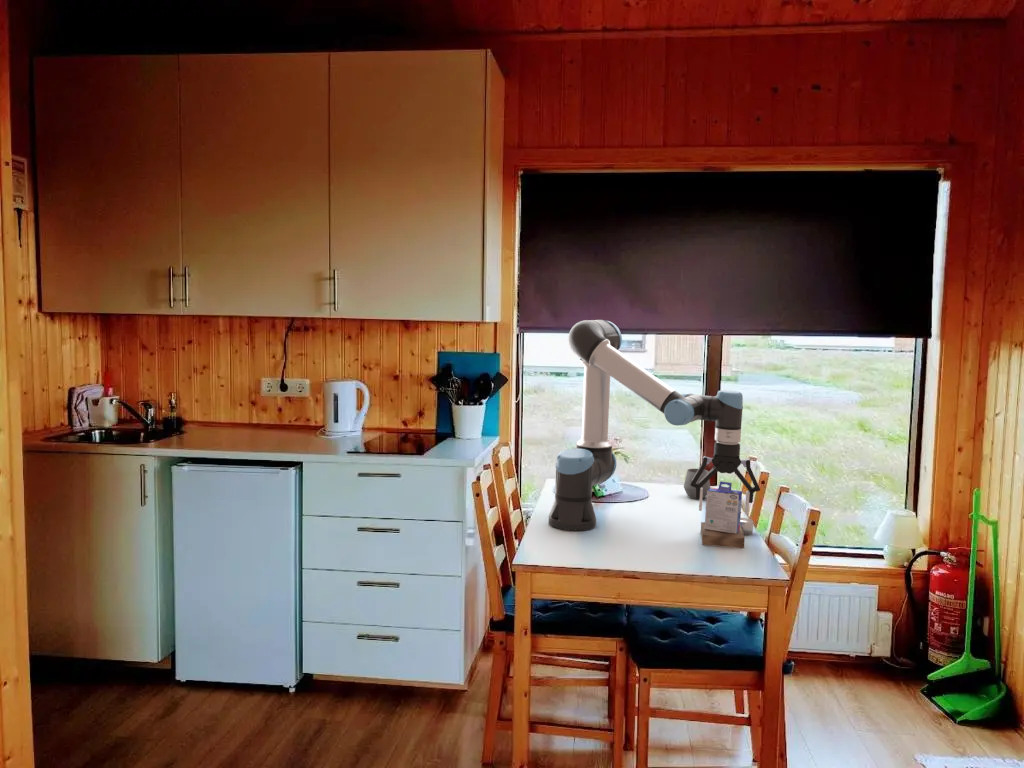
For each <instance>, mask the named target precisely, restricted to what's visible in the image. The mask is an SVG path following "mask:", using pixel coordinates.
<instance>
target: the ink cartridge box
mask: <svg viewBox="0 0 1024 768" xmlns="http://www.w3.org/2000/svg"><path fill="white" fill-rule="evenodd" d="M723 485H727V486H723ZM732 487H733V486H732V482H727V481H719V485H718V488H714V487H710V489H709V490H708V491H707V495H706V497H705V498H706V500H705V501H706V502H705V515H704V516H705V517H704V522H705V529H707V530H714V531H721V532H728V533H734V534H737V533H738V531H739V530H740V518H742V517H741V515H742V514H741V513H742V500H743V499H742V497H743V491H742V490H735V489H734V490H733V489H732Z"/></svg>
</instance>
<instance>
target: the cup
mask: <svg viewBox="0 0 1024 768" xmlns="http://www.w3.org/2000/svg"><path fill="white" fill-rule="evenodd" d="M698 469H699V468H688V469H687V471H686V475H685V478H684V483H683V489H684V491H685V494H686V495H687V497H688V498H690V499H694V500H697V499H696V488H695V487H692V486H691V484H690V482H691V480H692V479H693V477H694V475H695V474H696V472H697V470H698ZM708 472H709V470H707V469H704V470H703V472H702V474H701V475H700V477H699V479H698V480H697V482H696V483H698V482H699V481H700V480H701V479H702V478H703V477H704V476H705V475H706V474H707V473H708ZM710 481H711V480H710V479H709V480H708V481H707V482H706V483H705V484H704V485H703V486H702V487H701V488H703V496H702V500H703V499H705V498H707V491H708V490H709V489H710V488H711V482H710Z"/></svg>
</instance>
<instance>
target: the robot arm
mask: <svg viewBox="0 0 1024 768" xmlns="http://www.w3.org/2000/svg"><path fill="white" fill-rule="evenodd" d="M567 337H568V339H567V341H568V346H569V348H570V350H571V351H572V353H574V354H575V355H576V357H577V358H579V362H580V364H582V365H583V367H584V368H583V369H584V370H583V387H582V388H583V392H582V416H581V417H582V421H581V438H580V439H579V440H578V441H577V442H576V448H571V449H570V448H569V449H568V448H567V449H564V450H561V451H560V452H559V453H558V454H557V455H556V462H555V479H554V480H555V481H554V482H555V485H554V489H555V490H554V501H553V504H552V506H551V510H550V512H549V515H548V525H549V526H550V527H552V528H554V529H558V530H564V531H575V532H576V531H578V532H579V531H587V530H588V531H589V530H591V529H594V528H596V527H597V516H596V514H595V513H596V511H595V510H594V506H593V502H592V501H593V500H592V498H593V497H592V495H593V487H594V486H596V485H599V484H603V483H605V482H607V480H609V479H610V478H612V476H613V475H614V474H615V471H616V469H617V459H616V455H615V454H614V453H613V451H612V450H613V443H612V442H611V441H609V418H610V417H609V415H610V413H609V411H610V391H611V389H610V388H611V378H613V379H614V380H616V381H618V383H620V384H621V385H623V386H624V387H626V388H627V389H629V390H630V391H631V392H633V393H634V394H635V395H636V396H638V397H640V399H642V400H644V401H646V402H647V403H648V404H649V405H651V406H652V407H654V408H655V409H656V410H658V411H660V413H662V414H663V415H664V418H665V419H666V421H667V422H668V423H669V424H670V425H673V426H685V425H688V424H690V423H693V422H695V421H710V422H715V425H714V441H715V442H714V445H713V456H712V457H708V456H706V455H703V457H702V461H701V464H700V466H699V467H698V468H697V469H698V470H697V472H696V474H695V475H694V477H693V479H692V480H691V482H690V484H691V486H692V487H695V488H696V499H695V500H698V502H699V503H698V511H700V512H702V510H703V499H702V496H703V488H701V487H702V486H703V485H704V484H705V483H706V482H707V481H708V480H709V481H710V479H711V478H712V477H713V476H714V475H716V474H717V473H718V472H719V473H720V474H733V473H734V474H735V475H736V477H738V479H739V480H740V481H741V482H742V484H743V485H744V486H745V488H746V489H747V490H746V491H745V505H744V506H745V507H744V514H745V515H749V508H750V504H753V502H754V494H755V493H757V492H760V491H761V487H760V485H759V483H758V481H757V478H756V476H755V474H754V472H753V469H752V468H751V460H750V459H749V458H746V459H741V458H740V455H741V453H740V452H741V444H740V442H741V440H742V439H741V437H742V421H743V419H742V418H743V409H744V406H743V405H744V403H743V402H744V400H743V399H744V397H743V393H742V392H741V391H737V390H731V389H730V390H727V389H722V390H718V391H717V394H716V395H715V396H714V395H703V394H694V393H679V392H677V391H676V389H674V388H673V387H671V386H669V385H668V383H667V384H666V383H665V382H664V381H662V380H661V379H659V378H658V377H657V376H655V375H654V374H652V373H651V372H649V371H648V370H647V369H645V368H643V367H642V366H641V365H640V364H638V363H637V362H635V361H633V360H632V359H631V358H630V357H628V356H627V355H625V354H623V352H621V351H620V348H621V346H622V343H623V336H622V333H621V331H620V329H619V327H618V326H617V325H616V324H615V323H613V322H612V321H609V320H603V319H595V320H594V319H591V320H588V319H586V320H585V319H584V320H581V321H578V322H577V323H575V324H574V325H573V326H572V327H571V329H570V331H569V333H568V336H567ZM710 463H712V464H713V467H712V468H711V469H710V470H708V473H707V474H706V475H705V476H704V477H703V478H702V479H701V480H700V481H699V482H698V483H696V482H697V480H698V479H699V477H700V475H701V474H702V472H703V470H706V467H707V465H709V464H710ZM741 465H742V466H743V467H744V468H745V469H746V471H747V473H748V475H749V477H750V480H751V482H752V484H753V486H751V484H750V483H749V481H748V480H747V479H746V477H744V475H743V474H742V472H741V471H740V470H739V467H740V466H741Z"/></svg>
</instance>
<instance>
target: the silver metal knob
mask: <svg viewBox="0 0 1024 768" xmlns="http://www.w3.org/2000/svg"><path fill="white" fill-rule="evenodd" d="M740 525H741V528H742V531H743V534H744V536H751V535H753V532H754V520H753V519H752V518H747V517H740Z"/></svg>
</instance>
